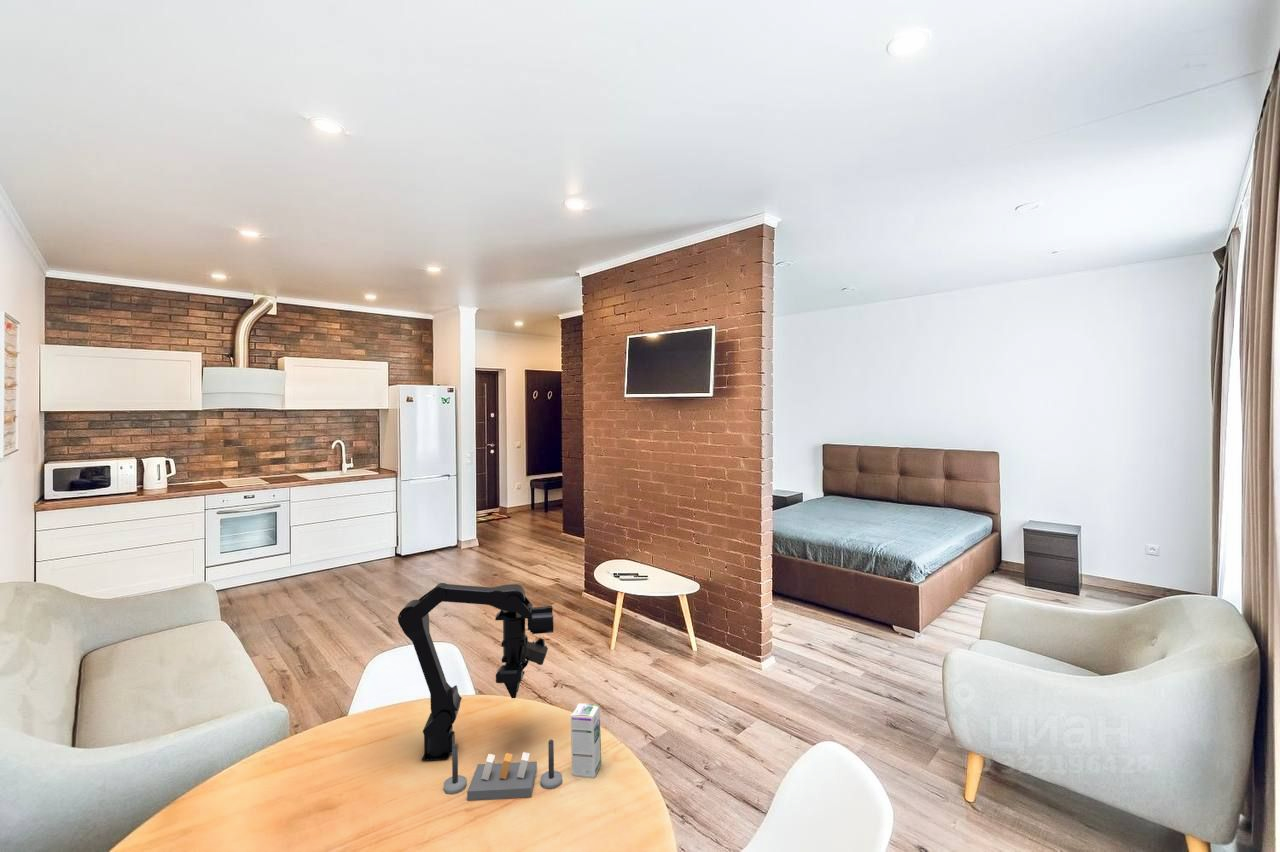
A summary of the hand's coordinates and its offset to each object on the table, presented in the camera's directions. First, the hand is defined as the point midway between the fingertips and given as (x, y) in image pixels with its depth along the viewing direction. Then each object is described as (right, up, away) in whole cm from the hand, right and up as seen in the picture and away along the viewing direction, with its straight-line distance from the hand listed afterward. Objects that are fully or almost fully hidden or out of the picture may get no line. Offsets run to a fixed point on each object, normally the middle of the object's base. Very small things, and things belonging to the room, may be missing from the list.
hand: (514, 695), depth 142 cm
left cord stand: (-10, -13, -17) cm, 23 cm away
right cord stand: (+12, -13, -16) cm, 23 cm away
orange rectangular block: (+1, -11, -16) cm, 19 cm away
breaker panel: (+1, -13, -16) cm, 21 cm away
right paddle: (+5, -11, -16) cm, 20 cm away
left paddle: (-3, -11, -16) cm, 20 cm away
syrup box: (+20, -13, -11) cm, 26 cm away
